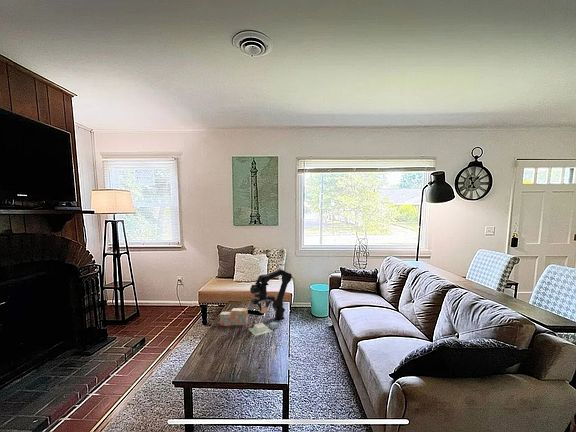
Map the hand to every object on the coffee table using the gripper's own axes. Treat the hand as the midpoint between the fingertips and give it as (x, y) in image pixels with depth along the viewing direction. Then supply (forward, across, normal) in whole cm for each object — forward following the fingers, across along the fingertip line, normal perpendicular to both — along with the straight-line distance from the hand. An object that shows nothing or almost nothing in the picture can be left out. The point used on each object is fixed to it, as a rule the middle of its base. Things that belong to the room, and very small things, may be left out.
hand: (263, 310), depth 221 cm
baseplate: (+11, +8, +10) cm, 17 cm away
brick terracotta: (+1, 0, 0) cm, 1 cm away
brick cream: (+10, +8, +10) cm, 16 cm away
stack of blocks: (+11, +20, -12) cm, 26 cm away
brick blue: (+11, -3, +12) cm, 17 cm away
